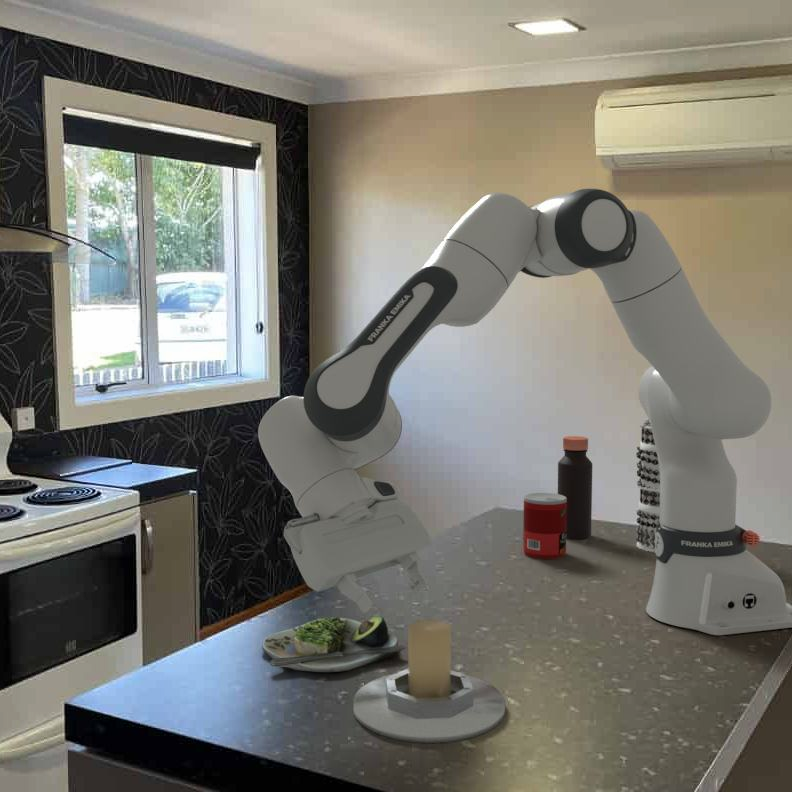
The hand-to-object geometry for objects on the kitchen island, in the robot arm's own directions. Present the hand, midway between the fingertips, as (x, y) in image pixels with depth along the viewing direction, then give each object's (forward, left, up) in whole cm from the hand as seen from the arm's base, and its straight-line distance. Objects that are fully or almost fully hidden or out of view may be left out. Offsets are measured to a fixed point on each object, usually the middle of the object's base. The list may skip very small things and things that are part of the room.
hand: (397, 599), depth 118 cm
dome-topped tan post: (-4, +3, -11) cm, 12 cm away
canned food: (-32, -63, -13) cm, 72 cm away
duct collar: (-3, +3, -12) cm, 13 cm away
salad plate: (+8, -17, -13) cm, 22 cm away
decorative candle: (-55, -66, -13) cm, 87 cm away
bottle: (-41, -76, -13) cm, 87 cm away
